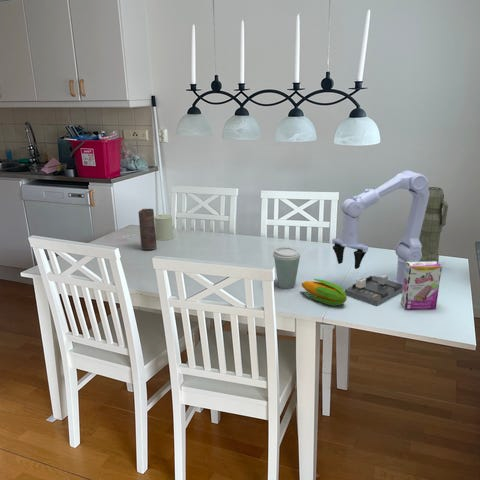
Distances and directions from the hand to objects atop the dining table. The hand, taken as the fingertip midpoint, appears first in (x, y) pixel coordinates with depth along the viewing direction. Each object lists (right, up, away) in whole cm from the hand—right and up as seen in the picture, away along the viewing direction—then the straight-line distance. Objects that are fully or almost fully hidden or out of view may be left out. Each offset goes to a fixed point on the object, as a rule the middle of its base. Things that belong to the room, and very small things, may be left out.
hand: (348, 265), depth 185 cm
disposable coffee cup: (-23, -8, +6) cm, 25 cm away
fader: (+13, -7, +1) cm, 15 cm away
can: (-81, +11, +70) cm, 107 cm away
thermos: (+38, -3, +21) cm, 43 cm away
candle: (-86, +5, +52) cm, 101 cm away
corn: (-11, -12, -7) cm, 18 cm away
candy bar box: (+22, -14, -14) cm, 29 cm away
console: (+10, -10, -1) cm, 14 cm away
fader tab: (+4, -8, -2) cm, 9 cm away
